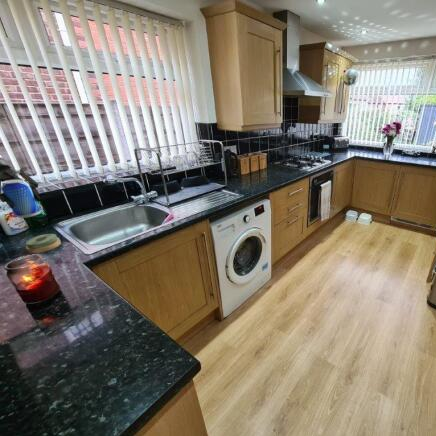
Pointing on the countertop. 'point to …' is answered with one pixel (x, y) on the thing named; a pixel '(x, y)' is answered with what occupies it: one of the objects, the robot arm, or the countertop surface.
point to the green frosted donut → (42, 243)
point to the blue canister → (21, 198)
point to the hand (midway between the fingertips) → (26, 203)
